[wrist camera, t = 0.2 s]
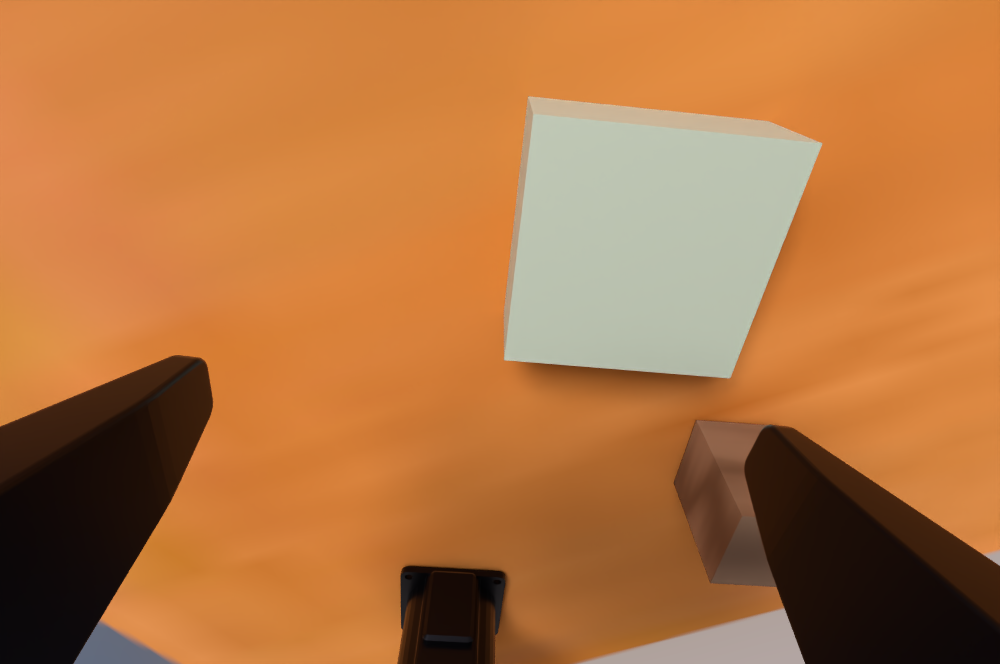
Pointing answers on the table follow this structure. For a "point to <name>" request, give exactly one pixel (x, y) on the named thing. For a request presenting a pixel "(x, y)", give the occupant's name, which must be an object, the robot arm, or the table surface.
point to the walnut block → (723, 503)
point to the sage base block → (646, 235)
